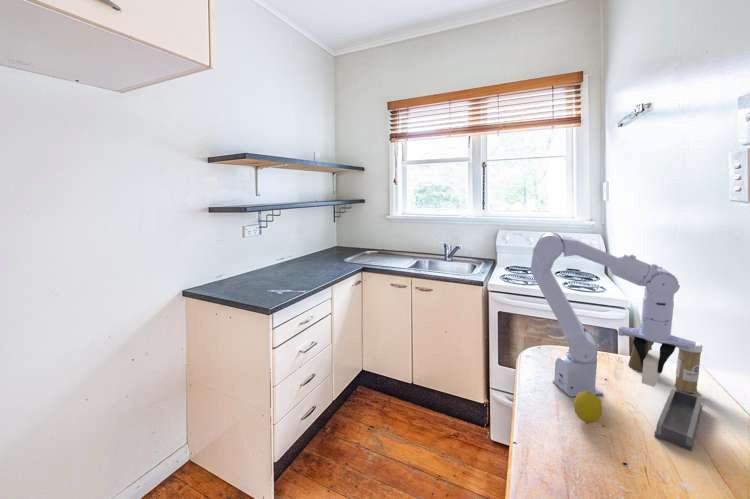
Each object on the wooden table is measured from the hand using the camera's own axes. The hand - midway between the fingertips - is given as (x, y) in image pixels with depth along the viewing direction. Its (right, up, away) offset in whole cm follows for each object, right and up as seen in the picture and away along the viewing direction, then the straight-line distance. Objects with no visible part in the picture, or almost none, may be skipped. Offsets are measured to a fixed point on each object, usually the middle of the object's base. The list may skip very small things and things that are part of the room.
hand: (651, 369), depth 84 cm
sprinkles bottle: (+14, -8, +6) cm, 17 cm away
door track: (+1, -10, -6) cm, 12 cm away
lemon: (-20, -11, -6) cm, 23 cm away
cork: (+12, -6, +18) cm, 22 cm away
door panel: (0, -3, 0) cm, 3 cm away
